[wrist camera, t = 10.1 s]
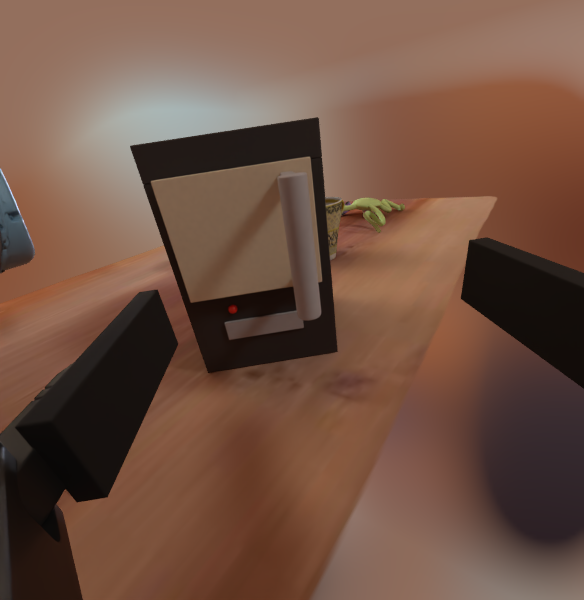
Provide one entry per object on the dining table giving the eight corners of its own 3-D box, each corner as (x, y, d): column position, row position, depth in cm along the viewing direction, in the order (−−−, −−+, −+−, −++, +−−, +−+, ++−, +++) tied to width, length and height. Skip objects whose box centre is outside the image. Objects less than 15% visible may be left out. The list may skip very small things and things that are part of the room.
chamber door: (338, 317, 19) (327, 156, 14) (169, 345, 19) (107, 190, 14) (320, 278, 25) (308, 156, 21) (193, 298, 25) (154, 180, 20)
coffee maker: (338, 354, 28) (320, 116, 19) (207, 376, 28) (126, 145, 19) (316, 295, 40) (298, 131, 31) (224, 310, 40) (179, 149, 31)
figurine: (301, 235, 70) (298, 211, 68) (345, 210, 89) (344, 191, 87) (376, 237, 60) (376, 210, 58) (408, 208, 79) (409, 187, 77)
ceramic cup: (318, 271, 48) (312, 210, 43) (281, 261, 55) (272, 207, 50) (366, 248, 55) (365, 193, 50) (327, 242, 62) (323, 193, 58)
